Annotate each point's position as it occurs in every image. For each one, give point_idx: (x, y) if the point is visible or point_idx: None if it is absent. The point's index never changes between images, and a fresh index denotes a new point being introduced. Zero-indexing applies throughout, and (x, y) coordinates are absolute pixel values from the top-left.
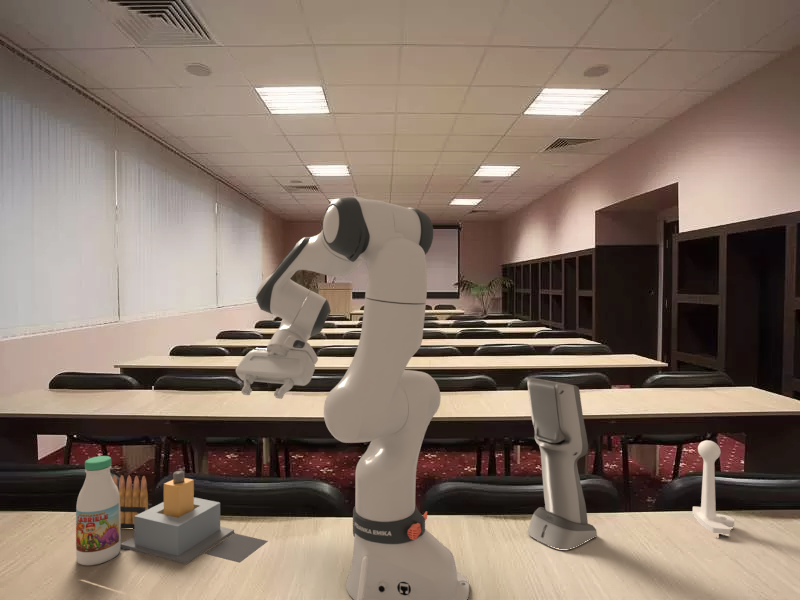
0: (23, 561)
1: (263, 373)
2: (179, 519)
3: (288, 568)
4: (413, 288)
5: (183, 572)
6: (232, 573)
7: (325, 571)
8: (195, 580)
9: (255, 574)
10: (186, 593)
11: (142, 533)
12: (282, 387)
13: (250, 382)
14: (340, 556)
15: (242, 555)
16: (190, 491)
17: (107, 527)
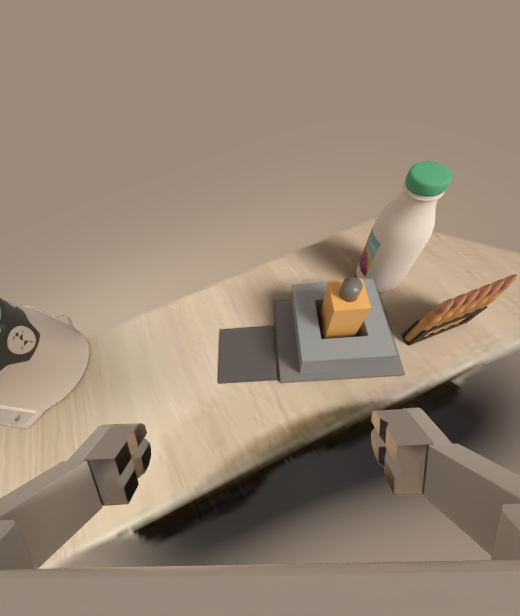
0: (432, 241)
1: (302, 584)
2: (308, 297)
3: (163, 347)
4: None
5: (265, 295)
6: (216, 314)
7: (119, 360)
8: (243, 291)
9: (192, 323)
10: (235, 276)
11: None
12: (56, 472)
13: (494, 555)
14: (110, 396)
15: (227, 341)
16: (329, 312)
17: (365, 247)
